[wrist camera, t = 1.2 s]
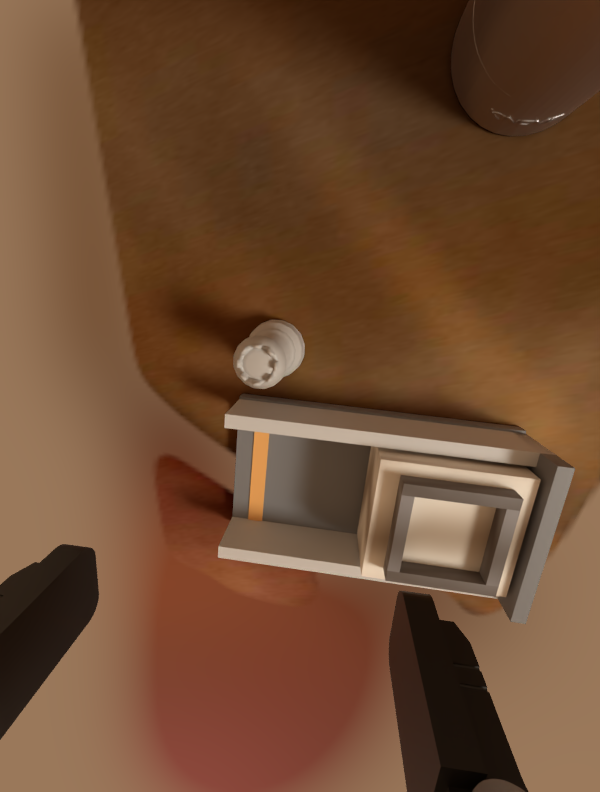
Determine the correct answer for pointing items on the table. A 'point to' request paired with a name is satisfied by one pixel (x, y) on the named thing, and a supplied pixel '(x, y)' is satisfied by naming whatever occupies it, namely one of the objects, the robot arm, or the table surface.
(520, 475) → the frame
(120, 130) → the table surface
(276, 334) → the rook chess piece
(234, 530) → the crate bay
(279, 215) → the table surface
